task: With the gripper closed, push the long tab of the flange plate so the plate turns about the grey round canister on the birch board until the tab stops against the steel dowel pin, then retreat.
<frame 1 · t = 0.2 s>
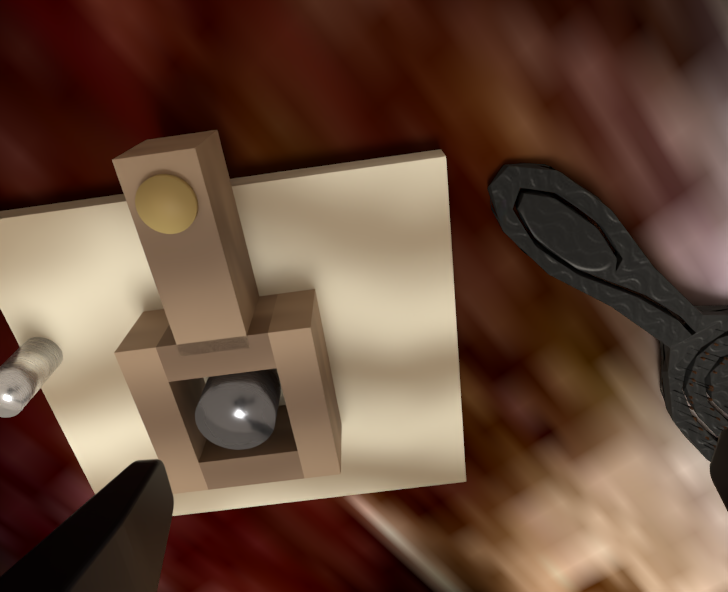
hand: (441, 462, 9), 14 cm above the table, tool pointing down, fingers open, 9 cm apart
birch board: (253, 356, 24), on the table
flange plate: (193, 177, 19), point 1 cm above the table, touching birch board
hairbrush: (687, 329, 25), on the table
grey round canister: (253, 356, 24), resting on birch board
dowel pin: (56, 338, 23), resting on birch board
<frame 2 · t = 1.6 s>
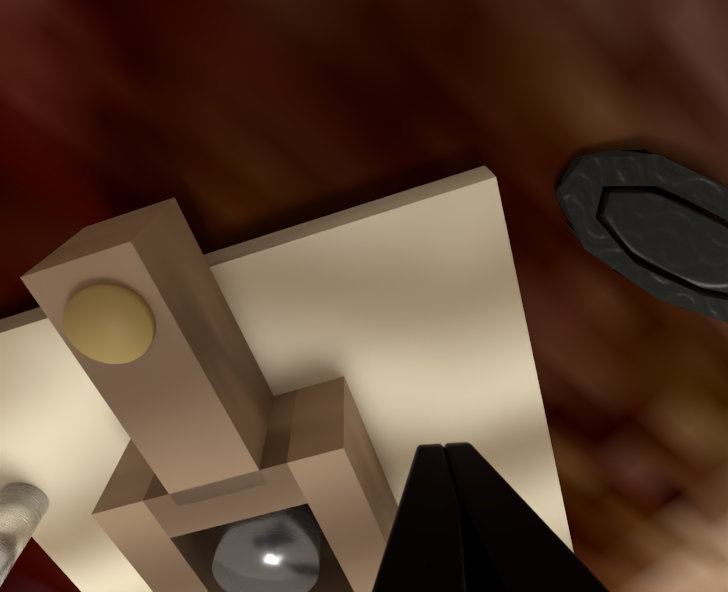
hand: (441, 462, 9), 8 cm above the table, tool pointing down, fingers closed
birch board: (282, 459, 19), on the table
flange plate: (157, 264, 14), point 1 cm above the table, touching birch board
grey round canister: (282, 459, 19), resting on birch board
dowel pin: (42, 472, 19), resting on birch board
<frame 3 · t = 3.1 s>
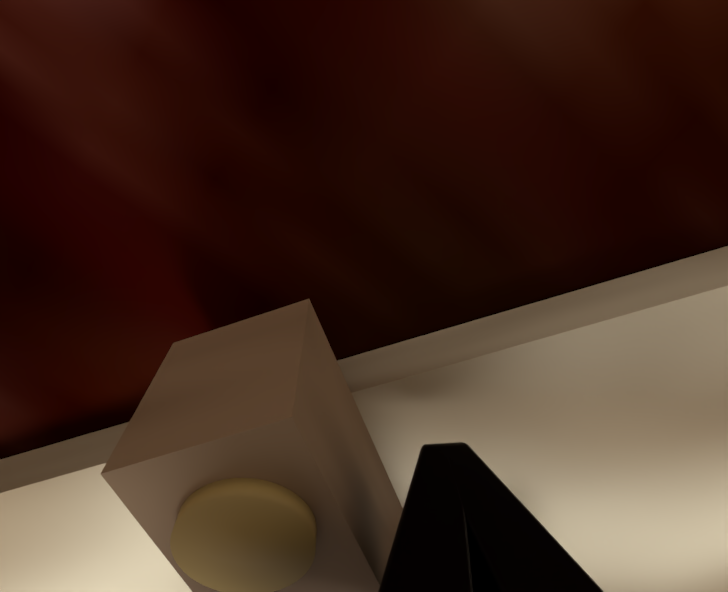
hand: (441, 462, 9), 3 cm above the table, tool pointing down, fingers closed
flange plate: (275, 389, 10), point 1 cm above the table, touching birch board, gripper
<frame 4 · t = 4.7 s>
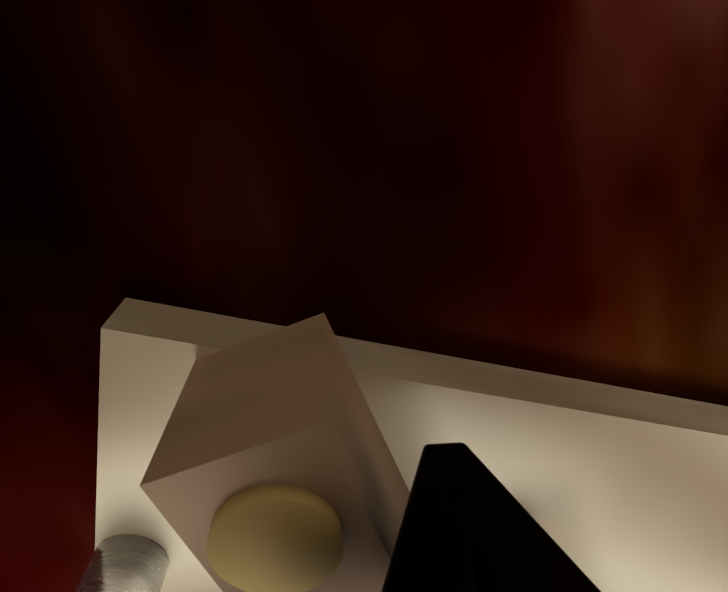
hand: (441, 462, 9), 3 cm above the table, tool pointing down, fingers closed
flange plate: (293, 400, 10), point 1 cm above the table, touching birch board, gripper, grey round canister
dowel pin: (149, 515, 13), resting on birch board
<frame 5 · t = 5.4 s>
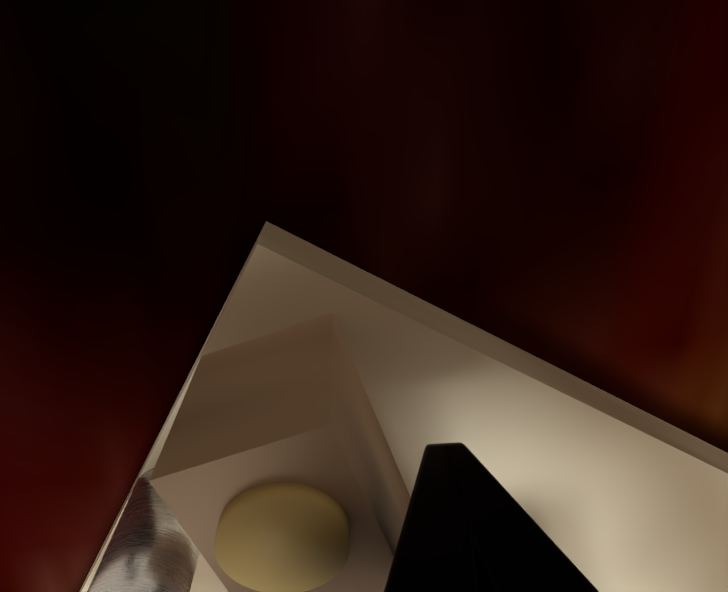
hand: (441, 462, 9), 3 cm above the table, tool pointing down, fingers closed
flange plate: (298, 399, 10), point 1 cm above the table, touching birch board, gripper, grey round canister
dowel pin: (188, 453, 12), resting on birch board
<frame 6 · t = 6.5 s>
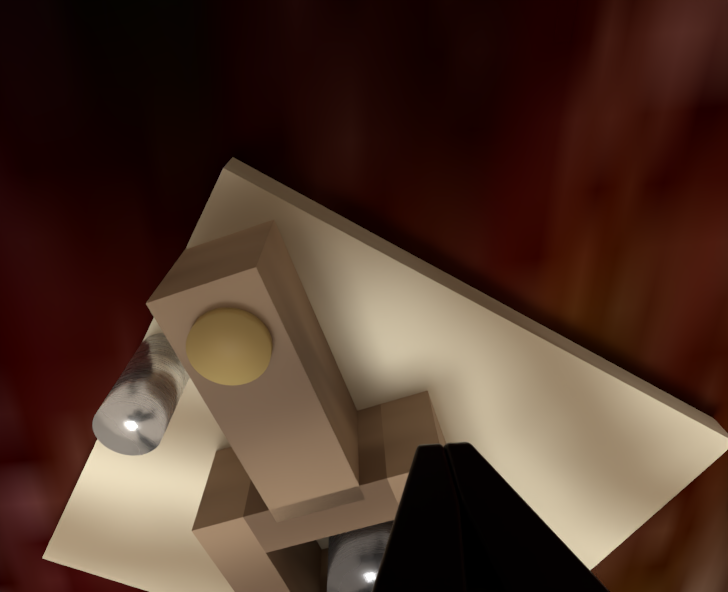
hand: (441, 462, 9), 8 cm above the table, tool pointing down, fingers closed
birch board: (372, 476, 19), on the table
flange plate: (252, 284, 14), point 1 cm above the table, touching birch board
grey round canister: (372, 476, 19), resting on birch board
dowel pin: (179, 335, 16), resting on birch board
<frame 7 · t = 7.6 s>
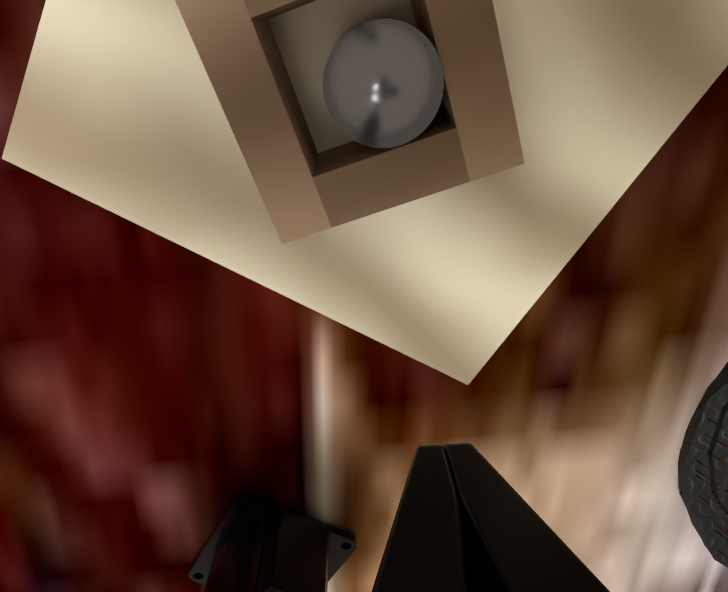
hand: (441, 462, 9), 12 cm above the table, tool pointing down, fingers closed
birch board: (375, 72, 17), on the table
grey round canister: (375, 72, 17), resting on birch board
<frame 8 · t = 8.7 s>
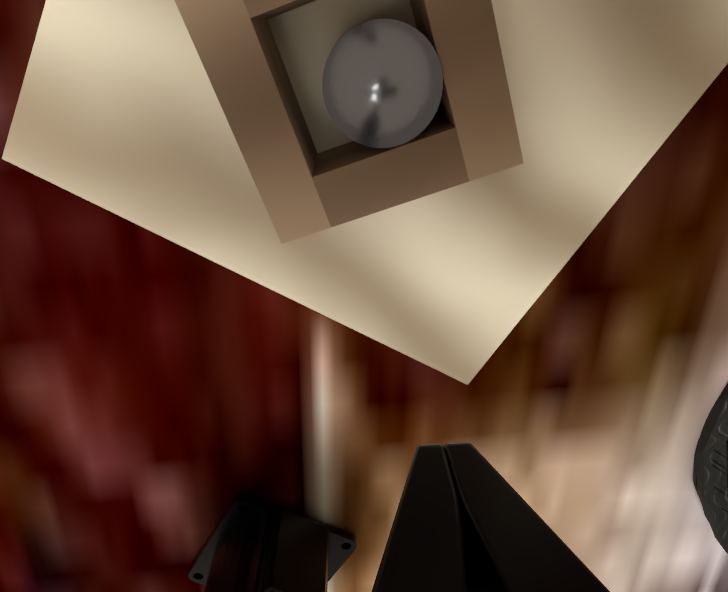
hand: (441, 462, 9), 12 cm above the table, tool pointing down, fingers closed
birch board: (374, 72, 17), on the table
grey round canister: (374, 72, 17), resting on birch board
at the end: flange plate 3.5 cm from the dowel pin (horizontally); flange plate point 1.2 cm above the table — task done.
